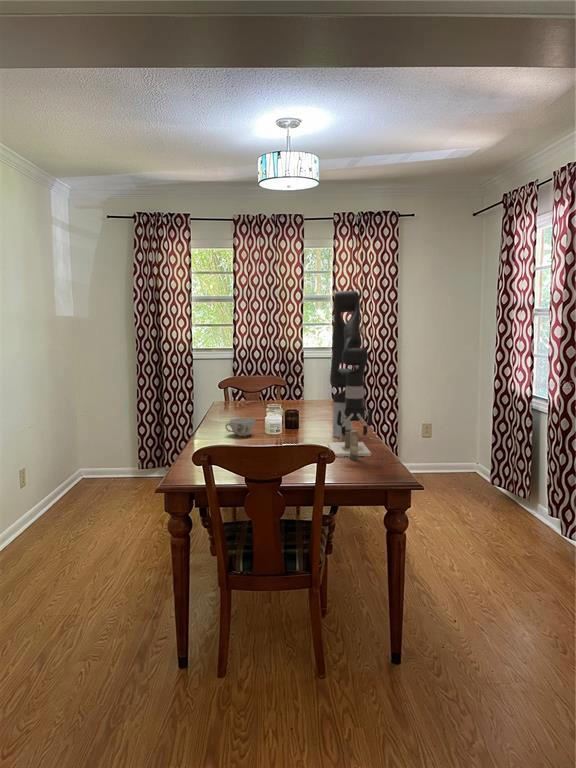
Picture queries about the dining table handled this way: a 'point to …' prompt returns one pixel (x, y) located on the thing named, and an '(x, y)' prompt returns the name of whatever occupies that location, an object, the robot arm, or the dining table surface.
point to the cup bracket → (347, 446)
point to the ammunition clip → (287, 441)
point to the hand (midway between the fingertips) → (354, 435)
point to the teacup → (241, 426)
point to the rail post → (353, 444)
